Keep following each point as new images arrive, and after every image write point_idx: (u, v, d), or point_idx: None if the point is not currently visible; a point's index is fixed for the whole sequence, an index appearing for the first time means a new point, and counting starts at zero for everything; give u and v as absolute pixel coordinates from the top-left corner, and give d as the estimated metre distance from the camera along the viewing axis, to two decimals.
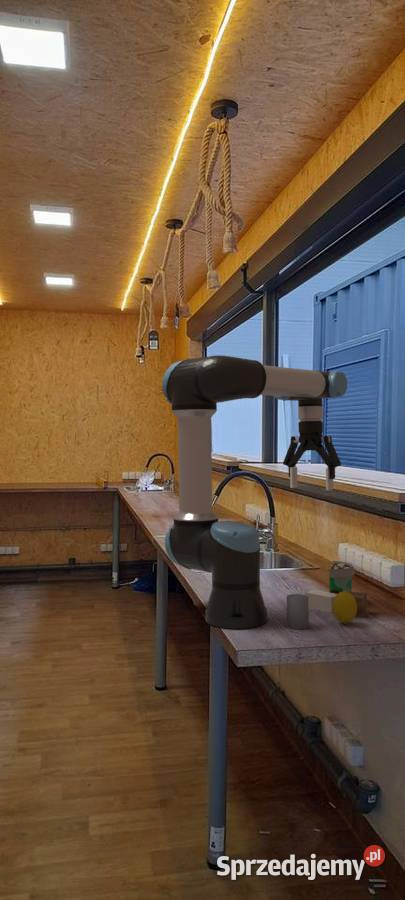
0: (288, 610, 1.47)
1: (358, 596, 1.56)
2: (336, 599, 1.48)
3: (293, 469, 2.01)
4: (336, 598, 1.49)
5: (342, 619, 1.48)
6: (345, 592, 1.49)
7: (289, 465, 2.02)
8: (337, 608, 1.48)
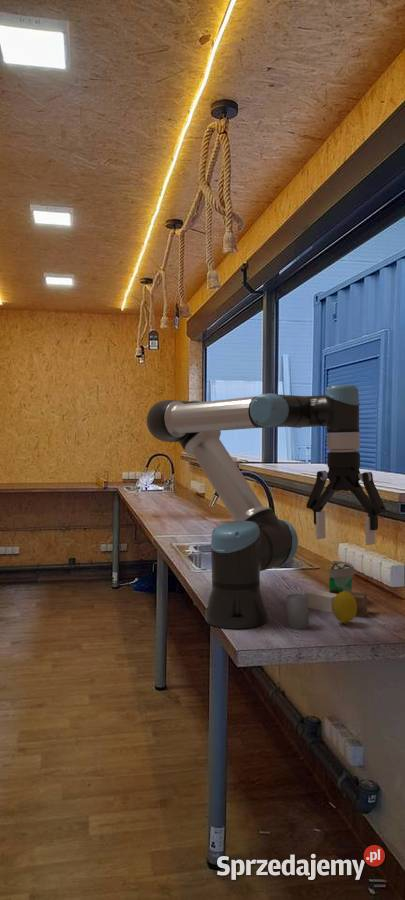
0: (288, 610, 1.47)
1: (358, 596, 1.56)
2: (336, 600, 1.48)
3: (320, 514, 1.53)
4: (336, 598, 1.49)
5: (342, 619, 1.48)
6: (345, 592, 1.49)
7: (315, 509, 1.53)
8: (337, 608, 1.48)
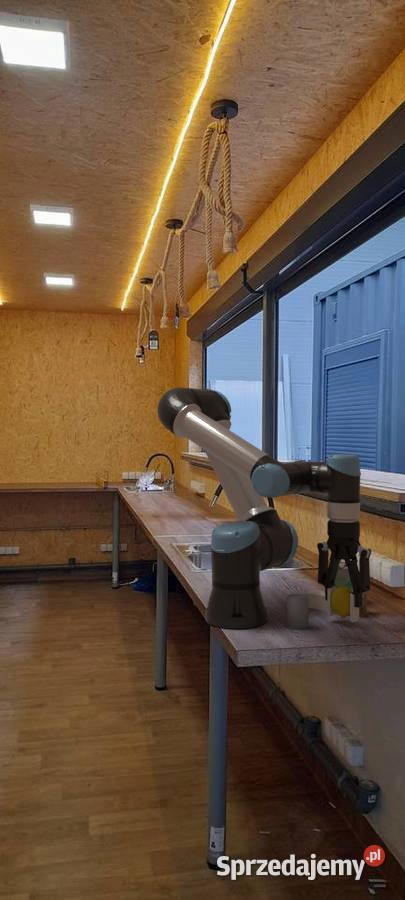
0: (288, 610, 1.47)
1: None
2: (335, 594, 1.48)
3: (332, 591, 1.51)
4: (334, 593, 1.49)
5: (340, 614, 1.48)
6: (344, 587, 1.49)
7: (326, 585, 1.51)
8: (335, 602, 1.48)
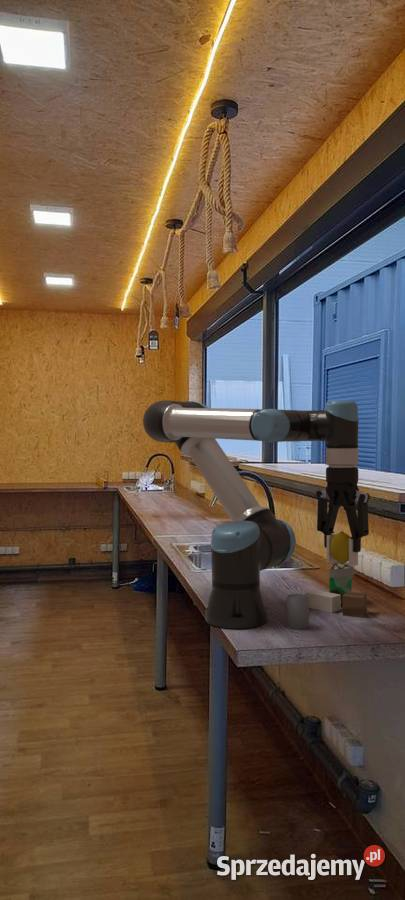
0: (288, 610, 1.47)
1: (358, 596, 1.56)
2: (334, 540, 1.49)
3: (331, 538, 1.52)
4: (333, 539, 1.50)
5: (339, 559, 1.49)
6: (342, 533, 1.50)
7: (325, 532, 1.52)
8: (334, 548, 1.49)
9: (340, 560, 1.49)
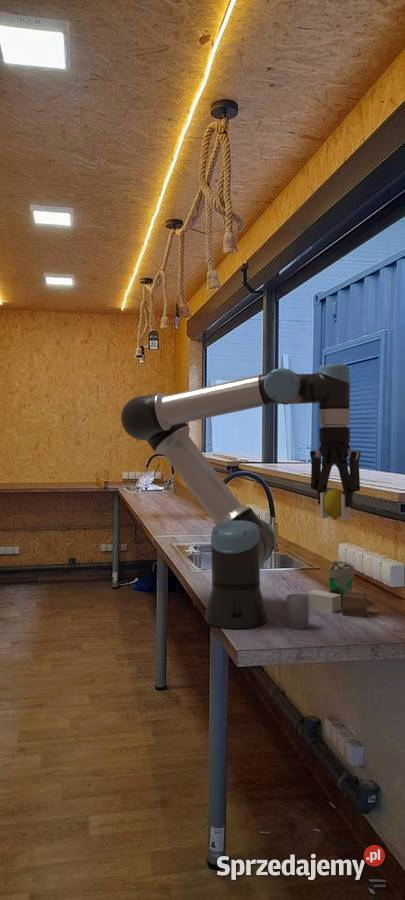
0: (288, 610, 1.47)
1: (358, 596, 1.56)
2: (327, 496, 1.58)
3: (324, 495, 1.60)
4: (327, 495, 1.58)
5: (332, 514, 1.57)
6: (335, 489, 1.58)
7: (319, 489, 1.61)
8: (327, 503, 1.57)
9: (333, 515, 1.57)
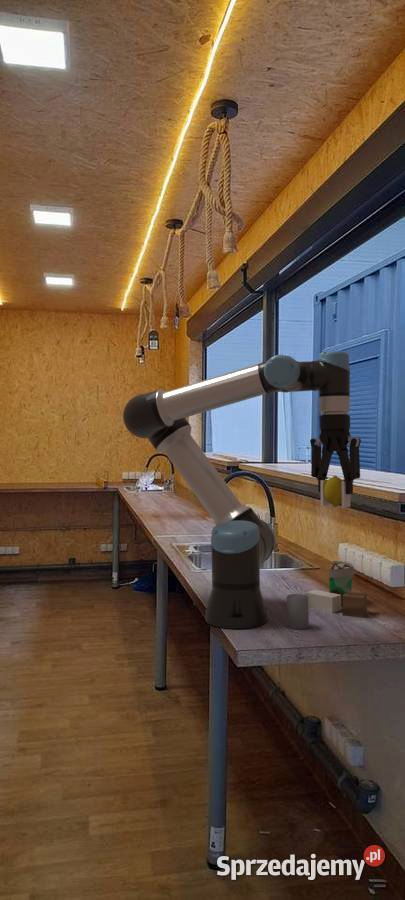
0: (288, 610, 1.47)
1: (358, 596, 1.56)
2: (327, 483, 1.58)
3: (324, 482, 1.60)
4: (327, 482, 1.58)
5: (333, 501, 1.57)
6: (335, 477, 1.58)
7: (319, 477, 1.60)
8: (327, 491, 1.57)
9: (333, 502, 1.57)
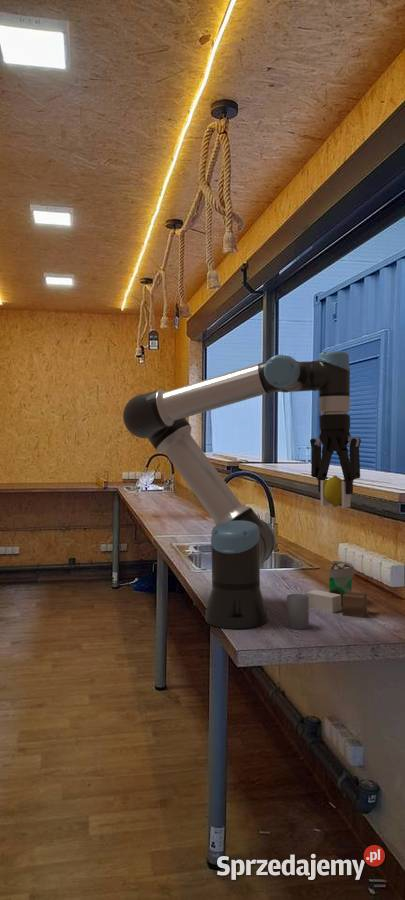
0: (289, 610, 1.47)
1: (358, 596, 1.56)
2: (327, 483, 1.58)
3: (324, 482, 1.60)
4: (327, 482, 1.58)
5: (333, 501, 1.57)
6: (335, 477, 1.58)
7: (319, 477, 1.60)
8: (327, 491, 1.57)
9: (333, 502, 1.57)
